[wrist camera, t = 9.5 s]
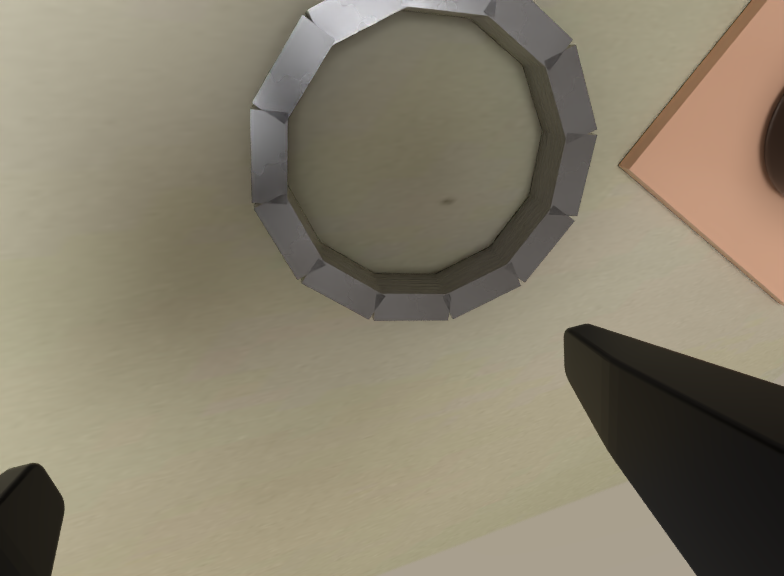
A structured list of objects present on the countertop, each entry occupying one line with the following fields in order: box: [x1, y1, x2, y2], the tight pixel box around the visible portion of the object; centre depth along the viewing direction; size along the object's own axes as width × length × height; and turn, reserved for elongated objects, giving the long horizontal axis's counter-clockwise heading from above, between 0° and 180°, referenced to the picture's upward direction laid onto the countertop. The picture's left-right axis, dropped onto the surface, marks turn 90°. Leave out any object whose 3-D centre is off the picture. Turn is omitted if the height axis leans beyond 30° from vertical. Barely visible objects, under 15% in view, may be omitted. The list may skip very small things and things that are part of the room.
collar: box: [250, 0, 597, 321], centre depth 20 cm, size 12×12×2 cm
